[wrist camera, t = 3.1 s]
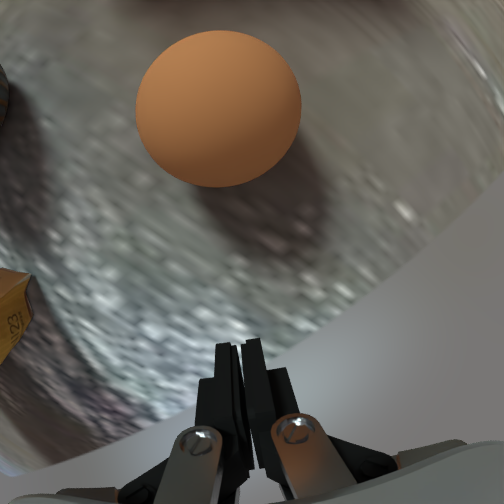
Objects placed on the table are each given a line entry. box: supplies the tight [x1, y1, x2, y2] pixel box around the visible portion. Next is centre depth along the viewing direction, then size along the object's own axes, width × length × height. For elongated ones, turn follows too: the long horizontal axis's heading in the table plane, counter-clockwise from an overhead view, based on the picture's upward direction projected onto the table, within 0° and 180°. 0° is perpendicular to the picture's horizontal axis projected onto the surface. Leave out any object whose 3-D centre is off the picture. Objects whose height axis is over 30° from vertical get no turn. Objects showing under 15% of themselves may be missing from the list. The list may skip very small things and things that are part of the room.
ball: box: [136, 30, 301, 188], centre depth 10 cm, size 6×6×6 cm
